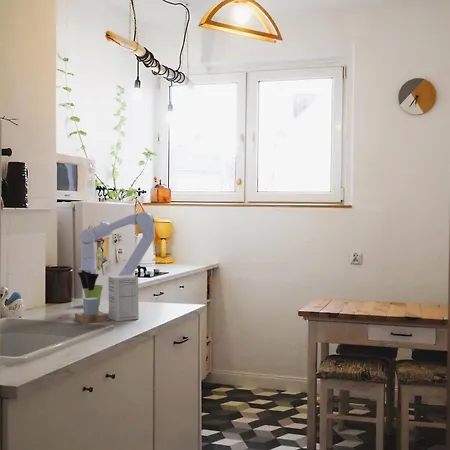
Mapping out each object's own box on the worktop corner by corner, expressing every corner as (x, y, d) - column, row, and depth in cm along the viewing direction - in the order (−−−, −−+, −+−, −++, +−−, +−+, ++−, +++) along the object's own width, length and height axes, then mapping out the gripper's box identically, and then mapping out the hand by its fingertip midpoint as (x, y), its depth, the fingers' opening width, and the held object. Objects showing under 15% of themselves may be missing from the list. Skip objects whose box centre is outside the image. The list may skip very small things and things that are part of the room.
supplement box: (130, 316, 254) (130, 274, 254) (139, 319, 246) (139, 276, 246) (107, 318, 249) (107, 275, 249) (116, 321, 241) (116, 277, 241)
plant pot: (82, 303, 290) (82, 285, 290) (103, 302, 292) (102, 284, 292) (82, 306, 281) (82, 287, 281) (104, 305, 283) (103, 286, 283)
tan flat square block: (99, 318, 251) (99, 311, 251) (108, 322, 242) (108, 314, 242) (74, 320, 246) (74, 313, 246) (82, 324, 237) (82, 316, 237)
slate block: (94, 312, 247) (94, 297, 247) (98, 314, 243) (98, 298, 243) (83, 313, 245) (83, 298, 244) (87, 315, 241) (87, 299, 241)
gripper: (73, 256, 270) (73, 288, 270) (84, 258, 258) (84, 291, 258) (89, 256, 274) (89, 287, 274) (100, 258, 261) (100, 290, 261)
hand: (88, 289), depth 266 cm, fingers open, 7 cm apart
